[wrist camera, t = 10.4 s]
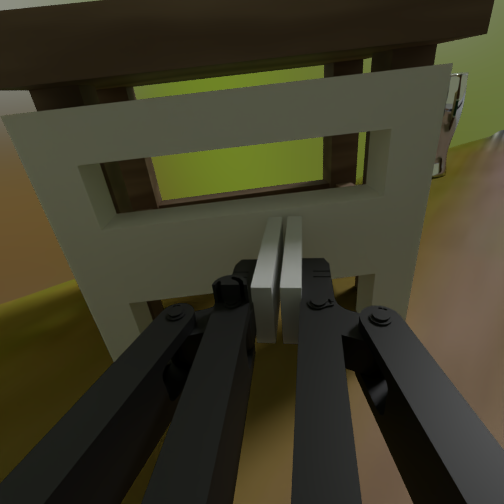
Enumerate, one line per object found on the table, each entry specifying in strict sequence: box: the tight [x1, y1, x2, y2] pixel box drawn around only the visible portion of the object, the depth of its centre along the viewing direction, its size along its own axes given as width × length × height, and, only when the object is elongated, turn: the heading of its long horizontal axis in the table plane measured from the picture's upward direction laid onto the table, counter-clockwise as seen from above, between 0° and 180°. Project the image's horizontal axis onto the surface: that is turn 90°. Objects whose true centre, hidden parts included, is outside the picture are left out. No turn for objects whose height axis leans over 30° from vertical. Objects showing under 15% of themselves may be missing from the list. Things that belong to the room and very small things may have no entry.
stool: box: [0, 0, 494, 320], centre depth 24 cm, size 16×22×20 cm
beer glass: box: [432, 72, 468, 178], centre depth 50 cm, size 7×7×15 cm
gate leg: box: [1, 63, 453, 362], centre depth 19 cm, size 2×20×16 cm, turn 94°
